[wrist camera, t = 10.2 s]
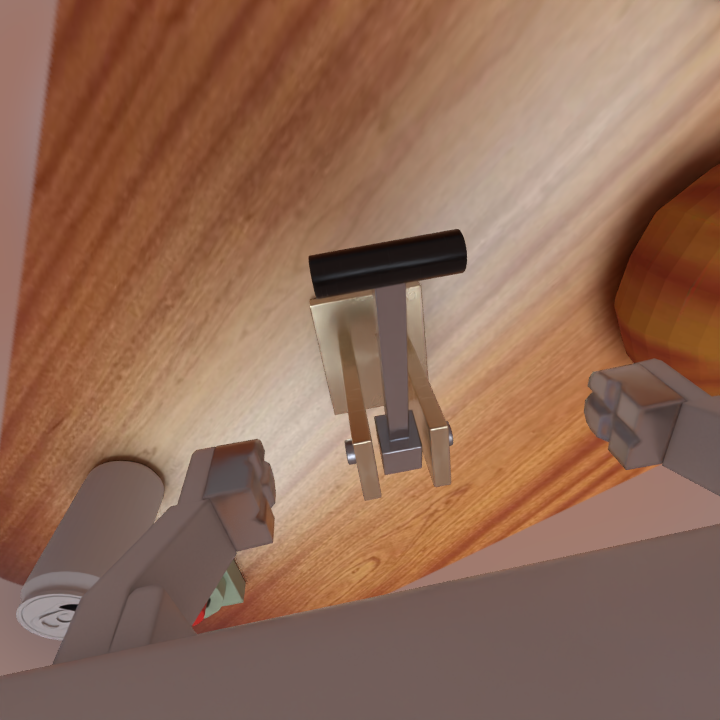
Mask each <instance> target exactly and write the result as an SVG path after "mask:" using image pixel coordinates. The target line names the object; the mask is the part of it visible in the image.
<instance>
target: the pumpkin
mask: <svg viewBox="0 0 720 720" xmlns="http://www.w3.org/2000/svg"><path fill="white" fill-rule="evenodd" d="M614 307H615V311H616V315H617V320H618V324H619V328H620V332H621V336H622V341H623V344H624V347H625V350H626V353H627V355H628V356H629V357H630V359H631V360H632V361H633V363H636V362H641V361H645V360H650V359H658V360H661V361H663V362H664V363H666V364H667V365H669V366H670V367H671V368H673V369H674V370H676V371H677V372H678V373H680V374H681V375H682V376H684V377H685V378H687V379H688V380H689V381H691V382H692V383H694V384H695V385H696V386H698V387H699V388H701V389H702V390H703V391H705V392H706V393H708V394H709V395H710V396H712V397H713V396H718V395H719V396H720V164H719V165H717V166H715V167H713V168H712V169H710V170H709V171H708V172H706V173H705V174H704V175H702V176H701V177H700V178H699V179H697V180H696V181H695V182H693V183H692V184H691V185H690V186H688V187H687V188H686V189H685V190H683V191H682V192H681V193H679V194H678V195H677V196H676V197H674V198H673V199H672V200H671V201H669V202H668V203H667V204H665V205H664V206H663V207H662V208H660V209H659V210H658V211H657V212H656V213H655V215H654V216H653V218H652V220H651V221H650V223H649V225H648V227H647V228H646V230H645V232H644V233H643V235H642V237H641V239H640V240H639V242H638V244H637V245H636V247H635V249H634V250H633V252H632V254H631V256H630V258H629V261H628V264H627V267H626V269H625V272H624V275H623V278H622V280H621V283H620V286H619V288H618V291H617V294H616V298H615V303H614Z"/></svg>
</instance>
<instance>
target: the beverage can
mask: <svg viewBox="0 0 720 720" xmlns="http://www.w3.org/2000/svg"><path fill="white" fill-rule="evenodd" d="M163 496H164V485H163V483H162V481H161V479H160V478H159V477H158V475H157V474H155V473H154V472H153V471H152V470H151V469H150V468H148V467H147V466H145V465H142V464H140V463H136V462H130V461H112V462H107V463H104V464H101V465H99V466H97V467H95V468H94V469H93V470H92V471H91V472H90V473H89V474H88V476H87V477H86V479H85V481H84V482H83V484H82V486H81V488H80V489H79V491H78V493H77V495H76V496H75V498H74V500H73V501H72V503H71V505H70V507H69V508H68V510H67V512H66V513H65V515H64V517H63V519H62V520H61V522H60V524H59V526H58V527H57V529H56V531H55V532H54V534H53V536H52V538H51V539H50V541H49V543H48V544H47V546H46V548H45V550H44V551H43V553H42V555H41V557H40V558H39V560H38V562H37V563H36V565H35V567H34V569H33V570H32V572H31V574H30V575H29V577H28V579H27V581H26V582H25V584H24V586H23V588H22V590H21V604H20V606H19V607H18V609H17V612H16V616H17V620H18V621H19V623H20V624H21V625H22V626H23V627H24V628H25V629H27V630H28V631H30V632H32V633H34V634H36V635H39V636H42V637H45V638H49V639H55V640H62V641H63V638H64V636H65V634H66V631H67V629H68V627H69V624H70V622H71V620H72V618H73V615H74V613H75V611H76V608H77V606H78V604H79V601H80V599H81V597H82V596H83V595H84V594H85V593H86V592H87V591H88V590H89V589H90V588H91V587H92V586H93V585H94V584H95V583H96V582H97V581H98V580H99V579H100V578H101V577H102V576H103V575H104V574H105V573H106V572H107V571H108V570H109V569H110V568H111V567H112V566H113V565H114V564H115V563H116V562H117V561H118V560H119V559H120V558H121V557H122V556H123V555H124V554H125V552H126V551H127V550H128V549H129V548H130V547H131V546H132V545H133V544H134V543H135V542H136V541H137V540H138V539H139V538H140V537H141V536H142V535H143V534H144V533H145V532H146V531H147V530H148V529H149V528H150V527H151V526H152V525H153V524H154V521H155V518H156V516H157V513H158V510H159V507H160V504H161V502H162V499H163Z"/></svg>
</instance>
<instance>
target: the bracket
mask: <svg viewBox="0 0 720 720" xmlns="http://www.w3.org/2000/svg"><path fill="white" fill-rule="evenodd" d="M406 304H407V352H408V400H409V410H413V413H414V417H415V421H416V425H417V428H418V432H419V436H420V439H421V443H422V452H423V455H424V458H425V461H426V464H427V467H428V470H429V473H430V476H431V479H432V482H433V485H434V487H439V486H444V485H449V484H451V468H450V448H449V446H451V445H453V435H452V431H451V427H450V425H449V423H448V421H446V419H445V417H444V415H443V413H442V410H441V408H440V406H439V404H438V401H437V399H436V397H435V394H434V392H433V390H432V388H431V385H430V383H429V381H428V370H427V357H426V344H425V331H424V318H423V305H422V292H421V285H420V283H419V282H418V281H415V282H410V283H406ZM310 310H311V314H312V318H313V323H314V327H315V331H316V336H317V340H318V344H319V349H320V353H321V357H322V362H323V366H324V370H325V375H326V379H327V383H328V387H329V392H330V396H331V400H332V405H333V409H334V413H335V415H337V414H343V413H348V415H349V423H350V430H351V437H352V439H348V440H345V448H346V454H347V459H348V463H349V465H351V464H356V463H357V468H358V472H359V477H360V482H361V486H362V491H363V496H364V500H371V499H376V498H381V496H382V495H381V489H380V484H379V478H378V473H377V467H376V462H375V456H374V450H373V445H372V439H371V434H370V429H369V424H368V419H367V414H366V409H369V408H374V407H380V406H384V400H383V390H382V381H381V372H380V362H379V353H378V344H377V334H376V325H375V315H374V306H373V297H372V290H366V291H361V292H355V293H350V294H344V295H339V296H333V297H328V298H323V299H317V298H315V299H310Z"/></svg>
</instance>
